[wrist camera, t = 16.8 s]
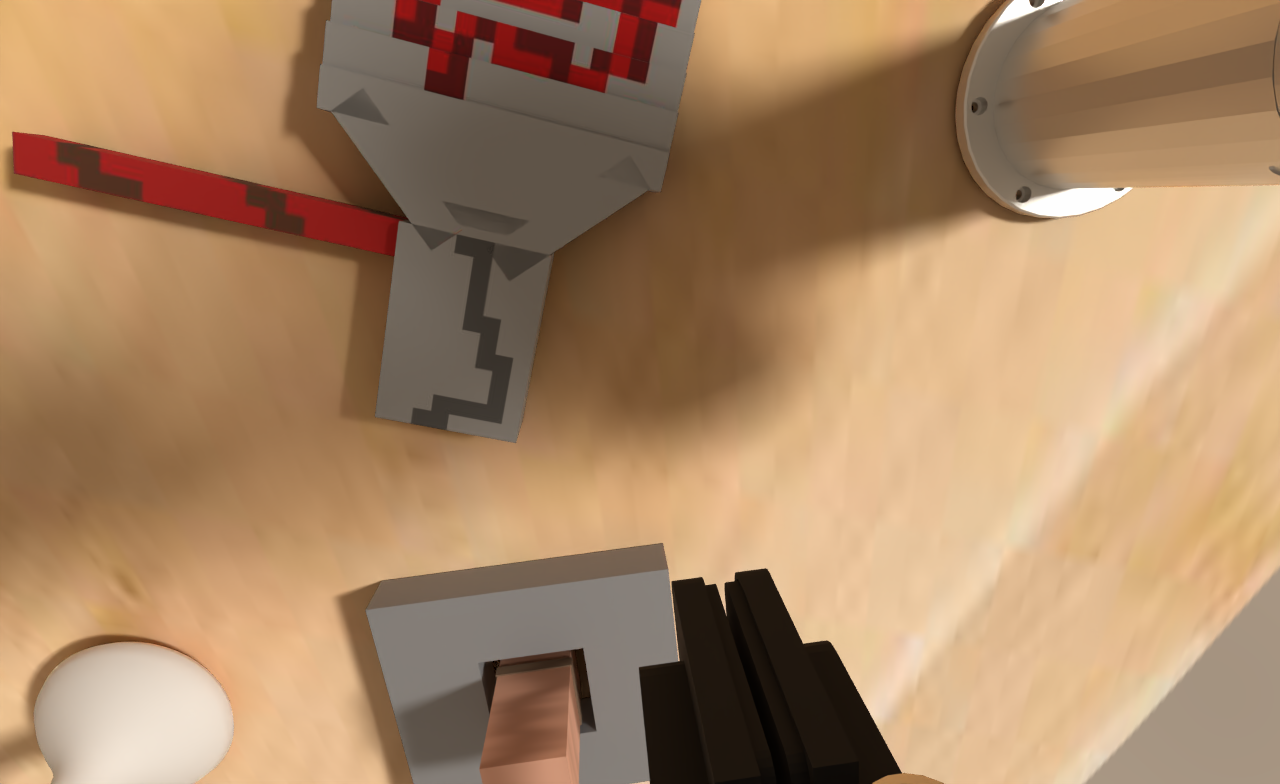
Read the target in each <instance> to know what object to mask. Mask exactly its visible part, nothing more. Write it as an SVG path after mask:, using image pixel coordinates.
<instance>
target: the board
mask: <svg viewBox="0 0 1280 784" xmlns="http://www.w3.org/2000/svg"><path fill="white" fill-rule="evenodd" d="M366 614H367V618H368V621H369V625H370V628H371V632H372V636H373V639H374V643H375V646H376V650H377V654H378V657H379V661H380V664H381V668H382V672H383V675H384V679H385V682H386V686H387V690H388V693H389V697H390V700H391V704H392V708H393V711H394V715H395V718H396V722H397V726H398V729H399V733H400V736H401V740H402V744H403V747H404V751H405V754H406V758H407V762H408V765H409V769H410V773H411V776H412V780H413V783H414V784H483V783H482V779H481V775H480V770H479V768H480V763H481V757H482V752H483V747H484V742H485V737H486V732H487V727H488V722H489V717H490V711H491V706H492V701H493V696H494V691H495V686H496V677H495V672H494V668H493V663H492V661H495V660H502V659H509V658H516V657H524V656H531V655H538V654H545V653H552V652H559V651H567V650H574V649H581V648H583V650H584V656H585V662H586V668H587V674H588V681H589V687H590V693H591V698H584V699H581V703H580V708H581V714H582V725H580V752H579V784H631V783H638V782H645V781H650V777H649V767H648V757H647V747H646V737H645V727H644V717H643V707H642V697H641V687H640V677H639V667H643V666H650V665H657V664H664V663H671V662H678V655H677V646H676V637H675V628H674V618H673V609H672V600H671V591H670V581H669V572H668V566H667V561H666V556H665V551H664V546H663V543H661V544H654V545H646V546H639V547H631V548H624V549H616V550H609V551H601V552H594V553H586V554H579V555H571V556H564V557H556V558H549V559H541V560H534V561H526V562H519V563H512V564H504V565H497V566H489V567H482V568H474V569H467V570H459V571H452V572H444V573H437V574H429V575H422V576H414V577H407V578H399V579H392V580H384V581H381V583H380V584H379V586H378V588H377V590H376V592H375V594H374V595H373V597H372V599H371V601H370V603H369V605H368V606H367V608H366Z"/></svg>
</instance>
